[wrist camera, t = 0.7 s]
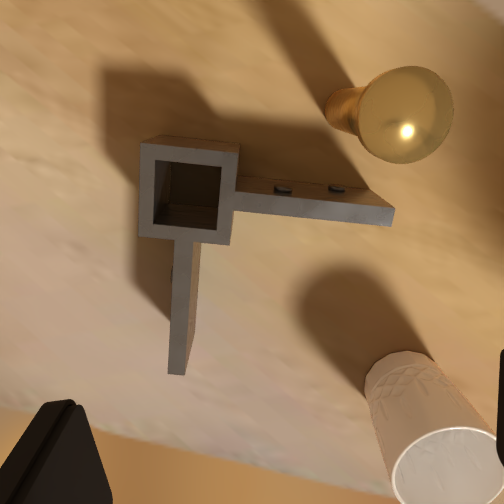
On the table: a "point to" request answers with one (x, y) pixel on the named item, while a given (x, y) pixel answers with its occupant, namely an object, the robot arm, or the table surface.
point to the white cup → (430, 434)
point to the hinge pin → (395, 114)
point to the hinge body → (226, 216)
